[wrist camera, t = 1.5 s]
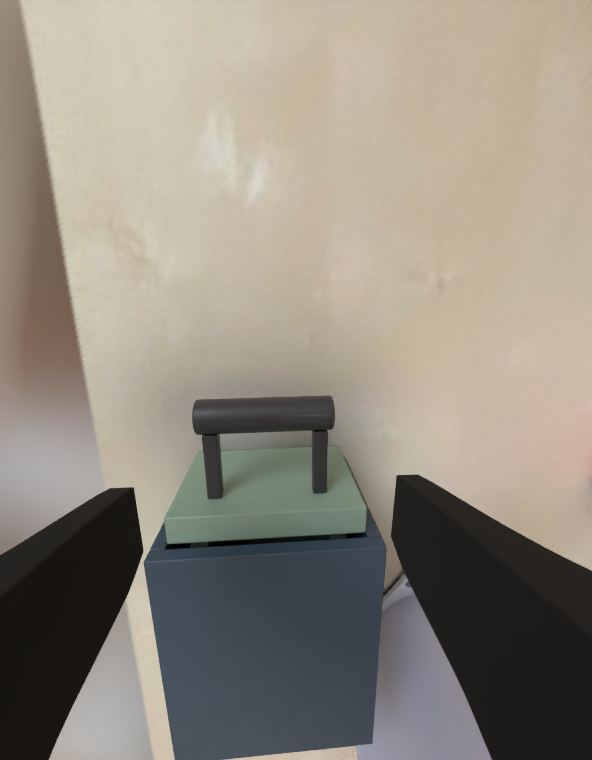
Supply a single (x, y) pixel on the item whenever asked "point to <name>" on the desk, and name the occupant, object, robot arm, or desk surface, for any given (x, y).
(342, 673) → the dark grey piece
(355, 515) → the drawer
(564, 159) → the desk surface
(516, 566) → the robot arm
